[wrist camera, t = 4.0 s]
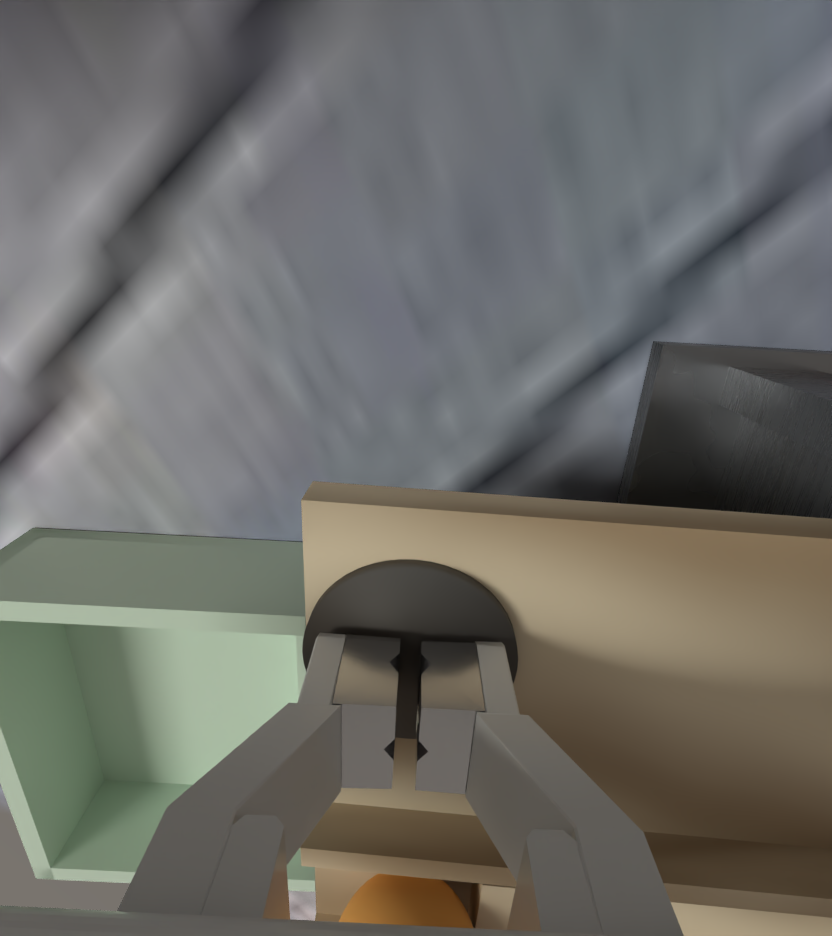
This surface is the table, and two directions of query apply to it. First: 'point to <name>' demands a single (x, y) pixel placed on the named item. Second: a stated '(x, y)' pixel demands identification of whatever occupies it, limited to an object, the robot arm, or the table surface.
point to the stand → (733, 431)
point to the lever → (599, 687)
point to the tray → (135, 682)
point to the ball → (406, 903)
